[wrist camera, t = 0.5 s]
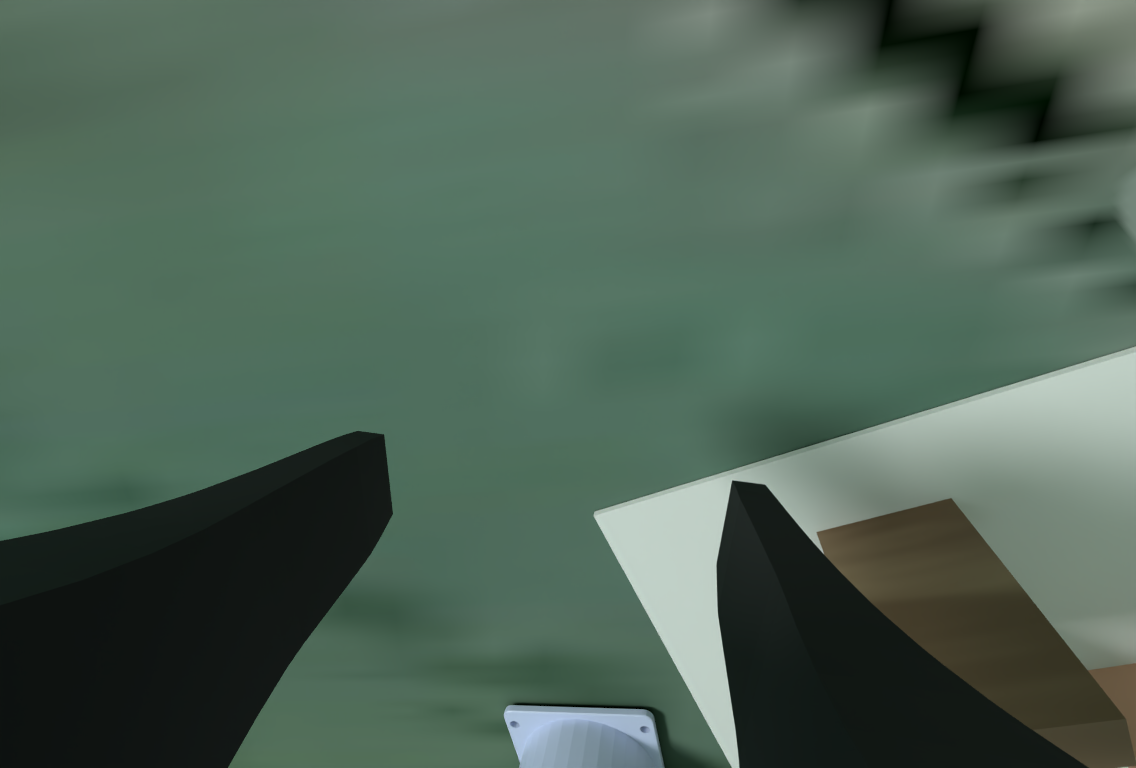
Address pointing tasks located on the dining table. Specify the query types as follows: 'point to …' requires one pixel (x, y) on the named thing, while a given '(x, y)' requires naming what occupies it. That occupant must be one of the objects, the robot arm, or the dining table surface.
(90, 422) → the dining table surface
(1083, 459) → the white flat board
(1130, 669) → the domino
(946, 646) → the domino
